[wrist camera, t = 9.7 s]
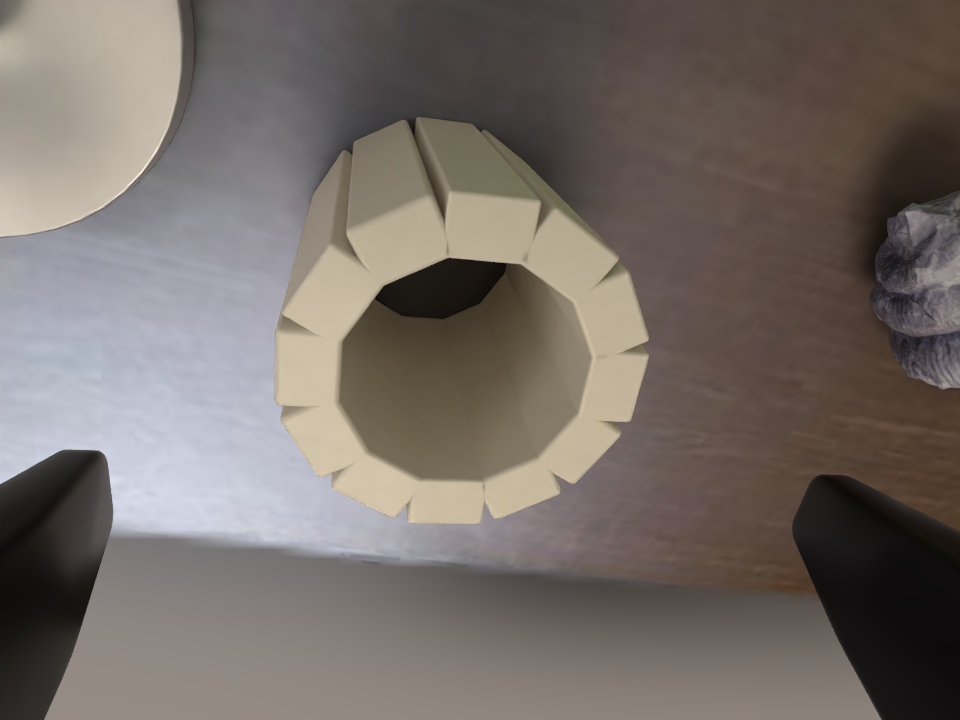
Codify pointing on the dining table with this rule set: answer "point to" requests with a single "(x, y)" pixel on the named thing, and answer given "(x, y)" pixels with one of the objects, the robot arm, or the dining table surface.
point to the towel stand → (86, 103)
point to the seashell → (922, 290)
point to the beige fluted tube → (453, 331)
